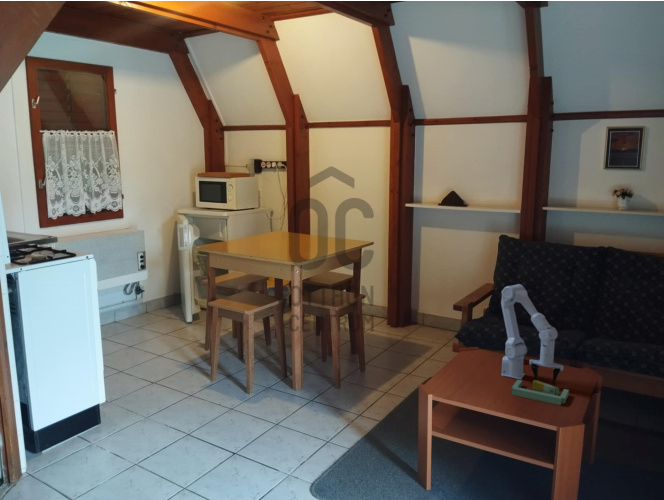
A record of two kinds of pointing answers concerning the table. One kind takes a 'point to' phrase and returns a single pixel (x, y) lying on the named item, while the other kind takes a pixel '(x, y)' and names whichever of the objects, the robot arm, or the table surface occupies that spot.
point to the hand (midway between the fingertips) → (544, 382)
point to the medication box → (545, 388)
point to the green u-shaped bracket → (539, 394)
